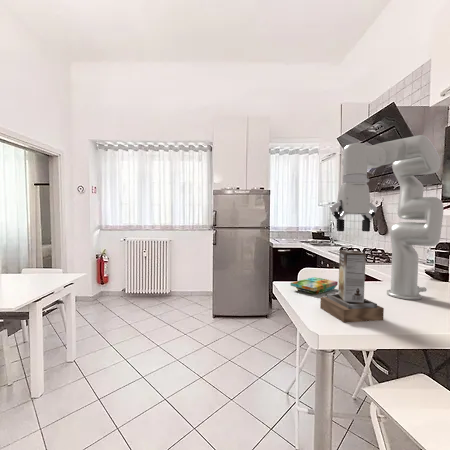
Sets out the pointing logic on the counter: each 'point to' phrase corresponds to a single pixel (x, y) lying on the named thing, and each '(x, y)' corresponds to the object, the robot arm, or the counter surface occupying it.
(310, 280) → the puzzle game
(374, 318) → the plinth
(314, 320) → the counter surface
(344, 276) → the coffee box
